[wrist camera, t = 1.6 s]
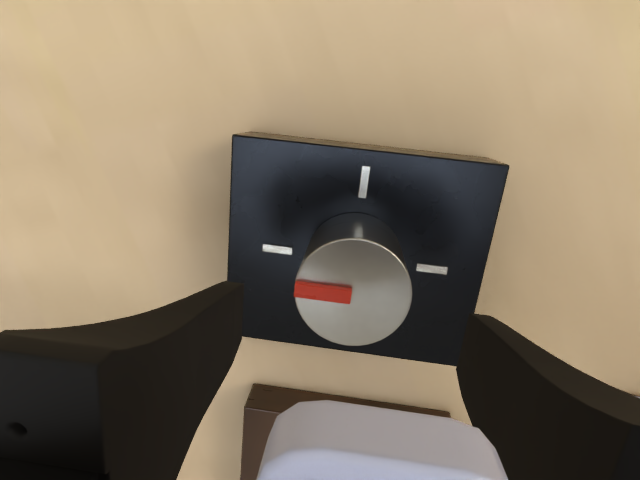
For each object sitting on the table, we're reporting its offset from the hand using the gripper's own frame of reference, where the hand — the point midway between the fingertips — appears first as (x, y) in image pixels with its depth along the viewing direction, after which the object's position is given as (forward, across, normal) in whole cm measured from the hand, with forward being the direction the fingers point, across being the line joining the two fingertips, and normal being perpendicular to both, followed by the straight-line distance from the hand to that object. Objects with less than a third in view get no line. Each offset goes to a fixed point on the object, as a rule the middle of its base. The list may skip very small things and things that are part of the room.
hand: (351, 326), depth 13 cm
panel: (+9, 0, 0) cm, 9 cm away
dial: (+6, 0, 0) cm, 6 cm away
